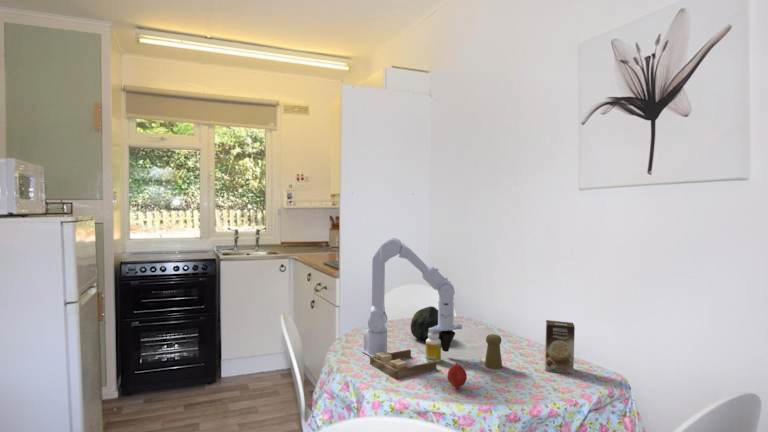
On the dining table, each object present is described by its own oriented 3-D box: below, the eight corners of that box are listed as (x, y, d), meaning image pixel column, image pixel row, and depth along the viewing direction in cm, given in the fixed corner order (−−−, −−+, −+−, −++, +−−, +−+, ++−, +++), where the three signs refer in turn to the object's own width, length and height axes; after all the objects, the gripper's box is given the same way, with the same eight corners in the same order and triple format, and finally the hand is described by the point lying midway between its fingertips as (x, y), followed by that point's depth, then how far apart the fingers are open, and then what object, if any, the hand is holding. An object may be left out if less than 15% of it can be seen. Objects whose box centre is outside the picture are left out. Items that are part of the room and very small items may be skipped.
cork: (502, 370, 151) (503, 337, 151) (484, 368, 152) (485, 336, 152) (501, 364, 157) (502, 333, 157) (484, 362, 158) (484, 332, 158)
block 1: (375, 364, 155) (375, 353, 155) (385, 362, 158) (385, 351, 157) (381, 368, 152) (381, 356, 152) (391, 366, 154) (391, 354, 154)
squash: (412, 319, 198) (412, 299, 188) (446, 322, 196) (447, 301, 186) (409, 347, 188) (409, 327, 178) (445, 351, 186) (446, 330, 176)
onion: (445, 384, 138) (445, 359, 138) (463, 384, 138) (463, 358, 138) (449, 392, 132) (450, 365, 132) (468, 391, 133) (469, 365, 132)
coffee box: (544, 371, 151) (545, 324, 150) (544, 365, 157) (545, 319, 156) (574, 374, 148) (574, 326, 147) (572, 368, 154) (573, 322, 153)
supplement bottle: (438, 363, 157) (439, 336, 157) (424, 361, 159) (424, 334, 159) (442, 358, 162) (442, 332, 162) (427, 356, 164) (428, 330, 164)
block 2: (389, 373, 148) (389, 361, 147) (398, 370, 150) (399, 359, 150) (397, 376, 144) (397, 364, 144) (406, 374, 147) (406, 362, 147)
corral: (369, 364, 156) (370, 357, 156) (409, 356, 165) (409, 349, 165) (395, 378, 142) (395, 371, 142) (436, 369, 151) (436, 361, 151)
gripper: (437, 318, 156) (437, 357, 157) (467, 314, 164) (467, 350, 164) (425, 314, 162) (424, 351, 163) (455, 310, 170) (454, 345, 170)
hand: (445, 350), depth 164 cm, fingers closed
